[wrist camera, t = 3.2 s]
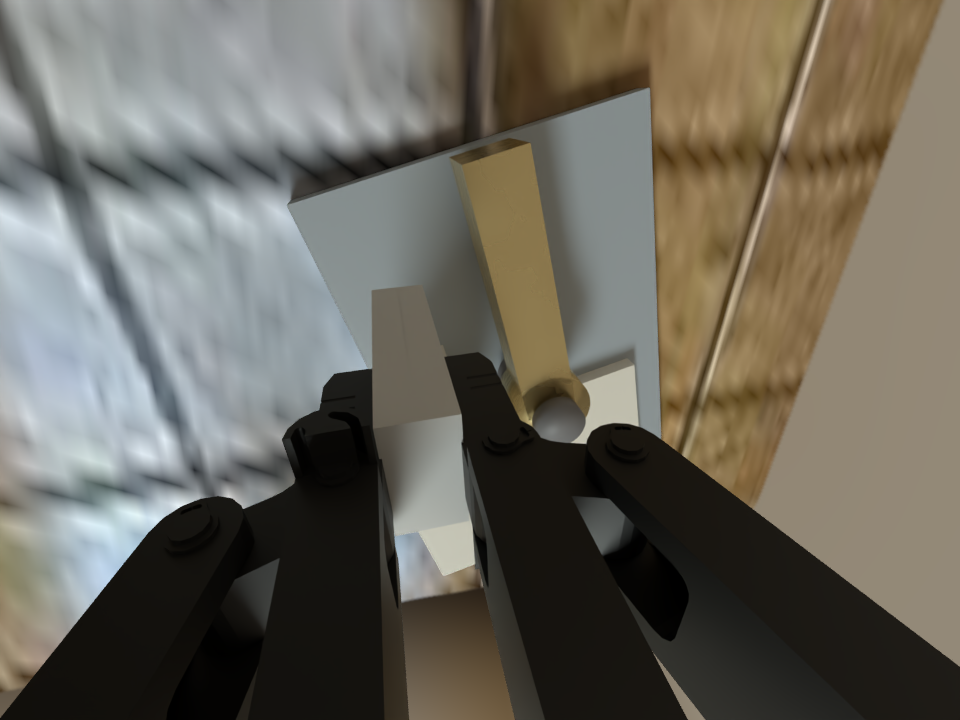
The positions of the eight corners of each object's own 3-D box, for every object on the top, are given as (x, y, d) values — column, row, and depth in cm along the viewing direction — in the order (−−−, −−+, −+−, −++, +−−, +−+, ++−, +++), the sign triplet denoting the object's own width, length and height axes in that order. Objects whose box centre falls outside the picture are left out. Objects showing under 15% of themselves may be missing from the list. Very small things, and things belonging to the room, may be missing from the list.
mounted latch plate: (290, 200, 18) (227, 282, 10) (637, 88, 19) (849, 75, 11) (461, 550, 33) (495, 703, 24) (655, 477, 34) (751, 600, 25)
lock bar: (573, 398, 25) (594, 427, 22) (508, 422, 24) (522, 453, 22) (526, 131, 17) (550, 136, 15) (430, 163, 17) (440, 172, 15)
